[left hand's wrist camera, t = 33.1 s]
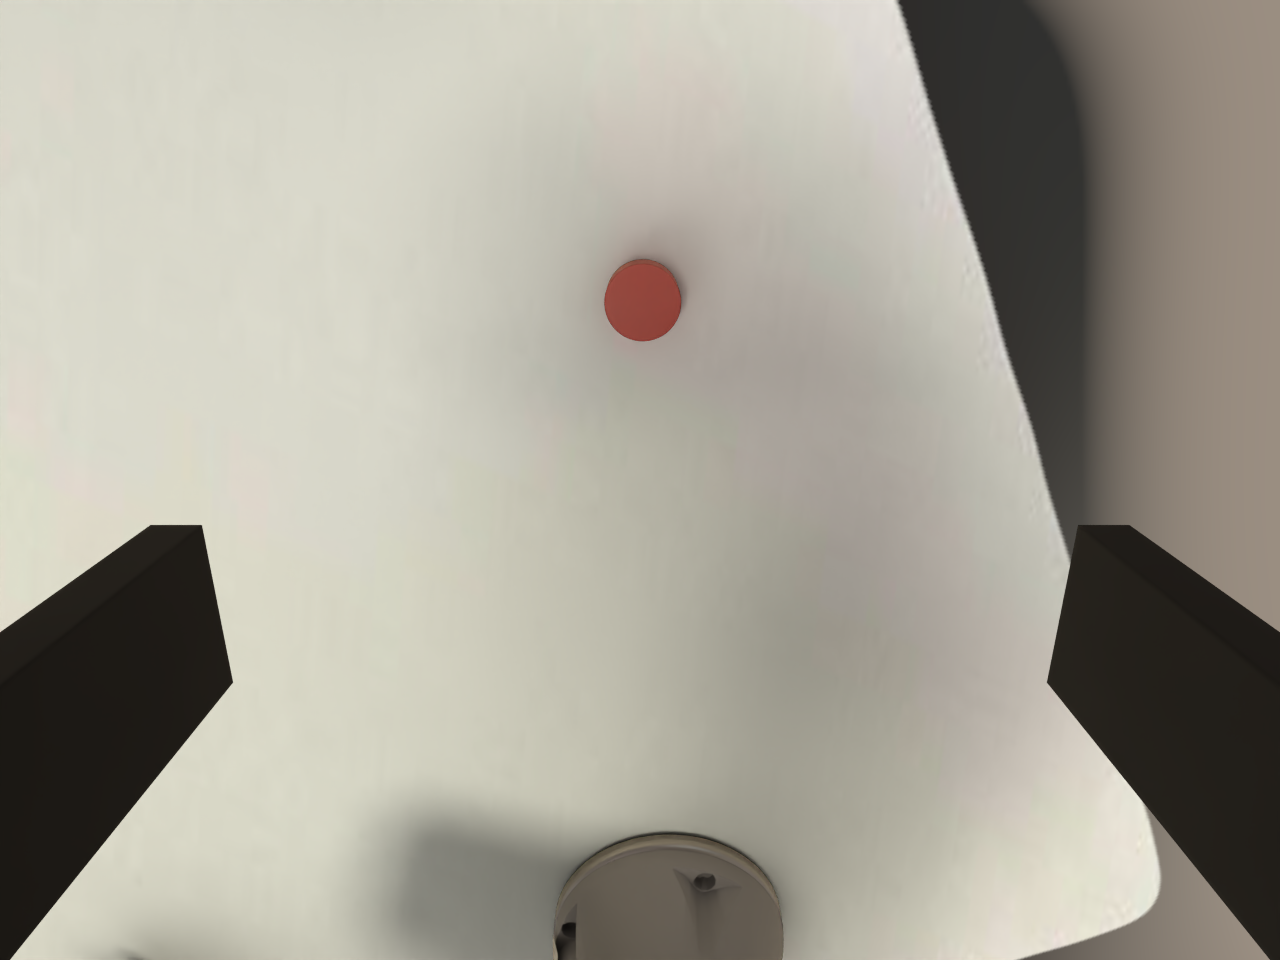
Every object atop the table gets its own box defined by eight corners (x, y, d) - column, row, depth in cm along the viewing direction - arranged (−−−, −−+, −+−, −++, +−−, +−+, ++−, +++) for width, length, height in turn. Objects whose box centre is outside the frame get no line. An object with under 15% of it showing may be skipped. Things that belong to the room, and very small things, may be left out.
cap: (683, 263, 41) (685, 267, 39) (674, 336, 42) (676, 344, 40) (609, 255, 41) (607, 259, 39) (603, 329, 42) (601, 337, 40)
